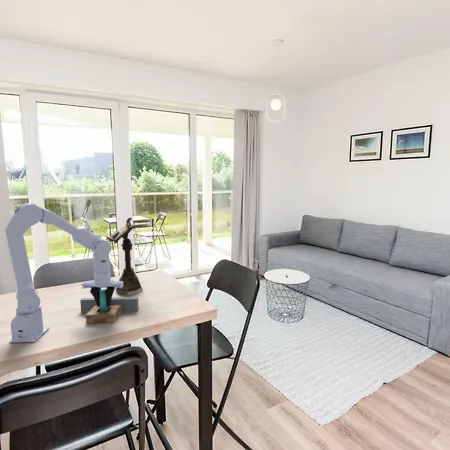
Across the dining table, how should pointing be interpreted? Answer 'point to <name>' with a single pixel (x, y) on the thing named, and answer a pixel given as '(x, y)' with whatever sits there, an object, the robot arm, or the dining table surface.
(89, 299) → the backstop wall
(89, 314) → the wooden square frame
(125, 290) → the dark bronze tall stand
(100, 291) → the dowel
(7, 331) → the dining table surface
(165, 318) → the dining table surface
